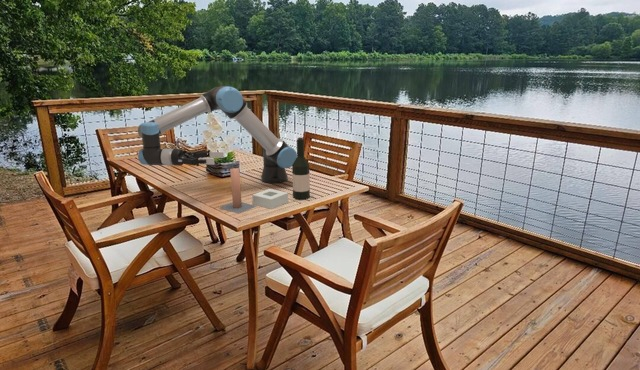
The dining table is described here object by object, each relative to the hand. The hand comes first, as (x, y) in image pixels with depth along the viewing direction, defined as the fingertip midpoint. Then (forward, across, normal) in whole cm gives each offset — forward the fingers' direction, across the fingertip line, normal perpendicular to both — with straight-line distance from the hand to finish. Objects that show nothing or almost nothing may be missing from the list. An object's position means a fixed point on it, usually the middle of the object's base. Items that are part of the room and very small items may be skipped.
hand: (218, 158), depth 191 cm
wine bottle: (+35, -16, -23) cm, 45 cm away
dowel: (+8, +2, -23) cm, 24 cm away
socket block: (+22, -5, -23) cm, 32 cm away
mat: (+8, +2, -23) cm, 24 cm away
